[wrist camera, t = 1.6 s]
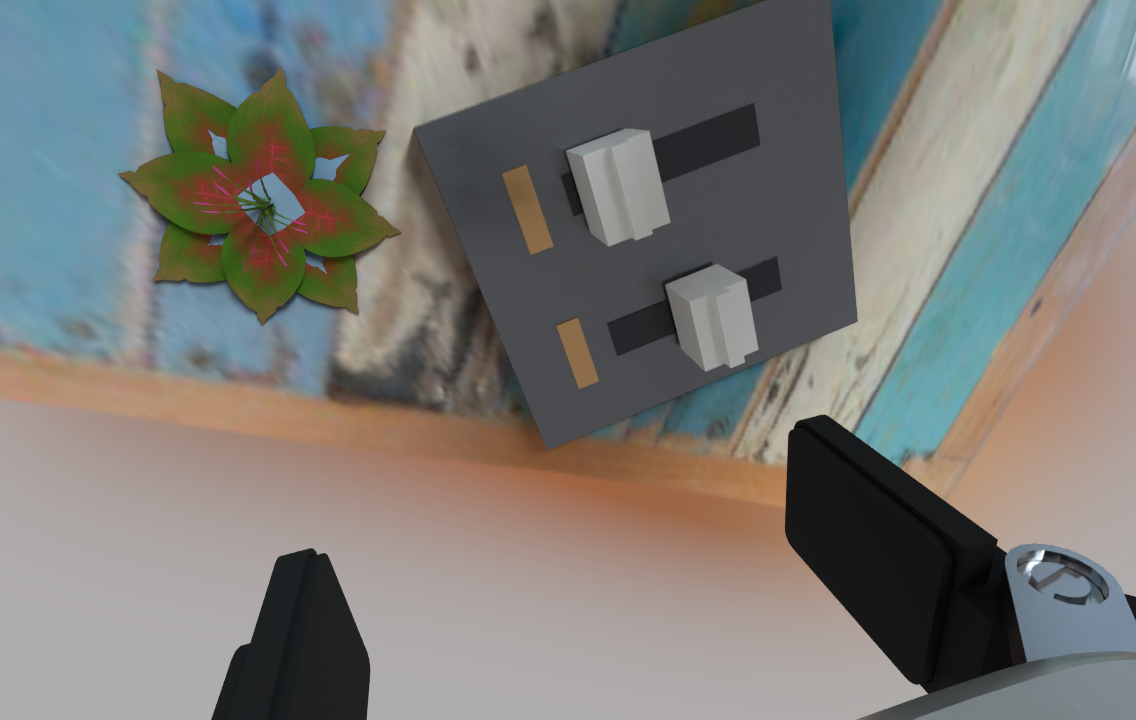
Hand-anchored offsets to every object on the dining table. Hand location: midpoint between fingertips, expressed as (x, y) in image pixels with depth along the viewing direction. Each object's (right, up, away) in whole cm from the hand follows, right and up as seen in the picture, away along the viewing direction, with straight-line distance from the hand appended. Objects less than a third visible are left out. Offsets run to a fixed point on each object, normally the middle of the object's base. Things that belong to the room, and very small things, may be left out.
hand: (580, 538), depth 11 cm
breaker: (+2, +12, +16) cm, 20 cm away
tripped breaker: (+7, +6, +20) cm, 22 cm away
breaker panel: (+5, +10, +20) cm, 23 cm away
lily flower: (-14, +11, +16) cm, 24 cm away
